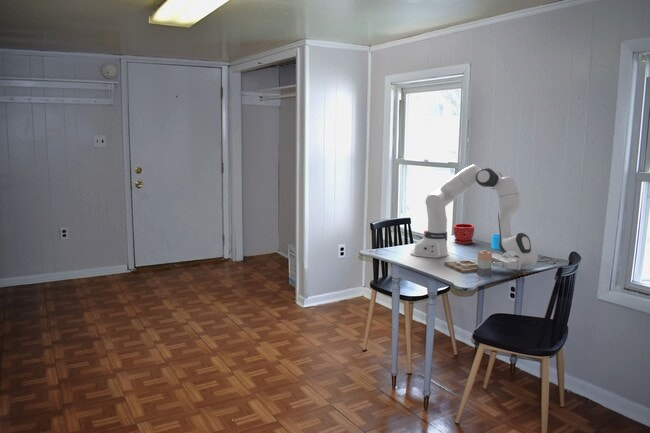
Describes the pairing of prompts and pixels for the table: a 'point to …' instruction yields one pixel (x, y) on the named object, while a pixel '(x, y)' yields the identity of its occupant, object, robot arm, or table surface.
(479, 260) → the brick tower
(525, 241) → the robot arm
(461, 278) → the table surface
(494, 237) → the mug
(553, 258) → the table surface
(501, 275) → the table surface
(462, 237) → the plant pot
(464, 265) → the socket board
